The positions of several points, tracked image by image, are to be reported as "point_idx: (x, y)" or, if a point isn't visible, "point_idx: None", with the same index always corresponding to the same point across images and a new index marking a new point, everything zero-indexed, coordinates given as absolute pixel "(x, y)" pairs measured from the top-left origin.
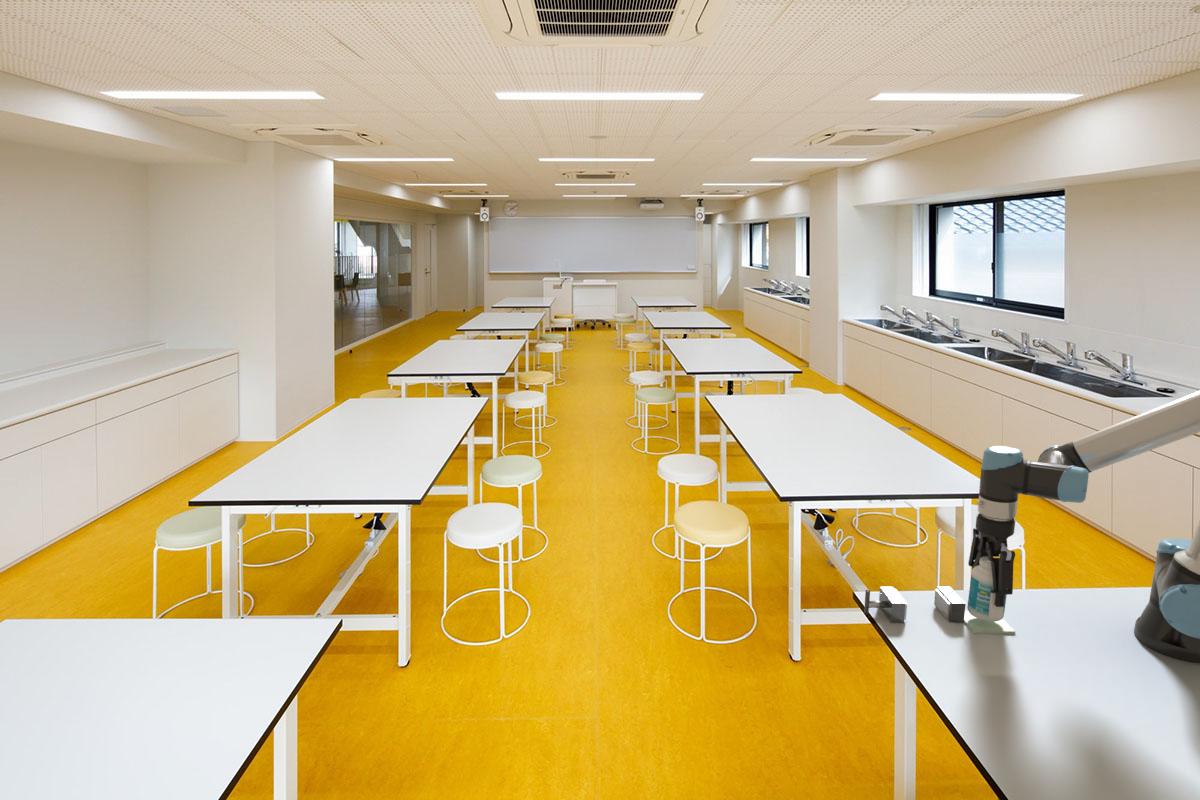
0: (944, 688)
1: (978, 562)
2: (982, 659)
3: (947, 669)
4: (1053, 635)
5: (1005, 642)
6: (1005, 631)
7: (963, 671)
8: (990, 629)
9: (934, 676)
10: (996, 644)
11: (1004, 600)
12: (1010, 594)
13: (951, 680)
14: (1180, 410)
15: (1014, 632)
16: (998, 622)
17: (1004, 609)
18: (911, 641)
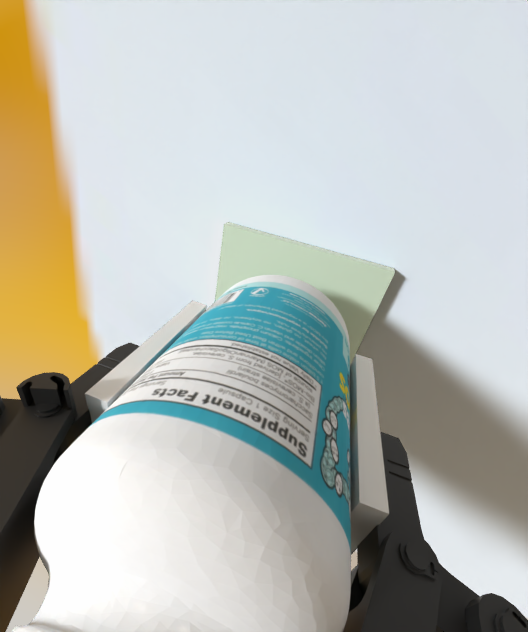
0: (501, 589)
1: (24, 585)
2: (462, 469)
3: (446, 543)
4: (509, 61)
5: (424, 348)
6: (376, 308)
7: (476, 531)
8: None
9: (452, 571)
10: (418, 382)
11: (343, 387)
12: (510, 612)
13: (487, 566)
14: None
15: (393, 273)
16: (310, 282)
17: (335, 328)
18: None
